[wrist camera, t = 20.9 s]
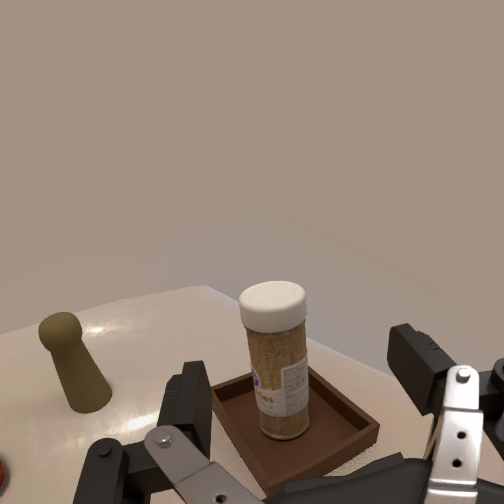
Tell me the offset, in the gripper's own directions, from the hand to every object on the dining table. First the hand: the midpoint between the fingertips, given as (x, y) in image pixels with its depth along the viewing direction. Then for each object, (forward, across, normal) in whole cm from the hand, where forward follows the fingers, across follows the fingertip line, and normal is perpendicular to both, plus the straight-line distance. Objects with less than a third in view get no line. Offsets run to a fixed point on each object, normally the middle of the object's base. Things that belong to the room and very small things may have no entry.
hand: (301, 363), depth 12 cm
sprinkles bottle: (+9, 0, +14) cm, 17 cm away
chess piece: (+15, +23, +15) cm, 31 cm away
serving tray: (+9, 0, +15) cm, 17 cm away
